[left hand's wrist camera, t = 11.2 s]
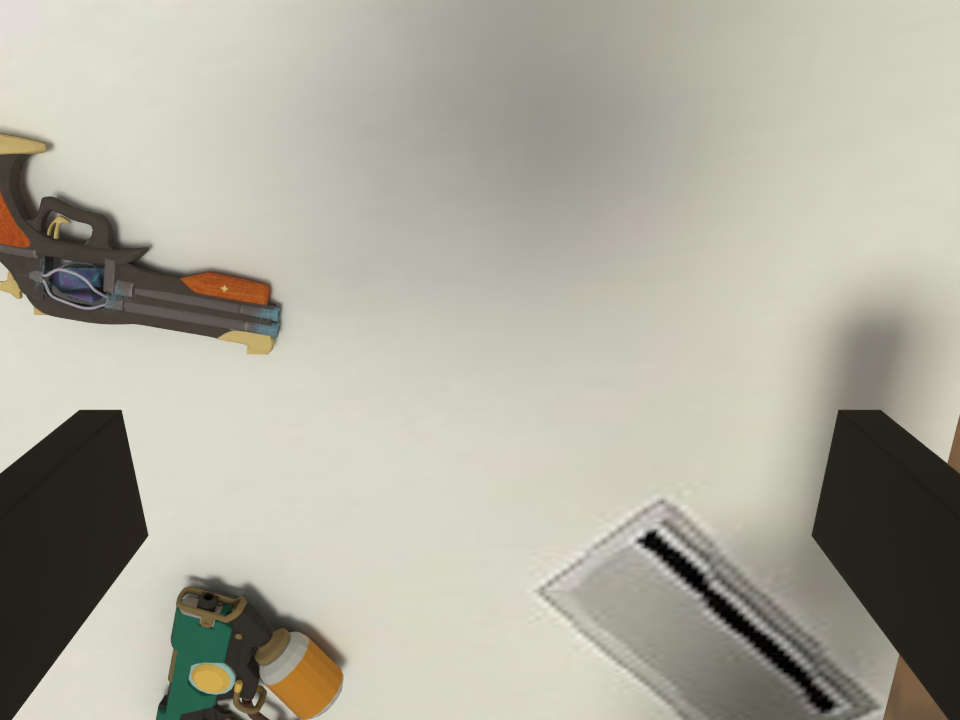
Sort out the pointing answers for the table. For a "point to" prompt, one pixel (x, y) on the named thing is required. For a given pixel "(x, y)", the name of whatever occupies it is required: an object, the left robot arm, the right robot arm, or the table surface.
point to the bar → (909, 704)
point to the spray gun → (241, 663)
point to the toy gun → (117, 273)
